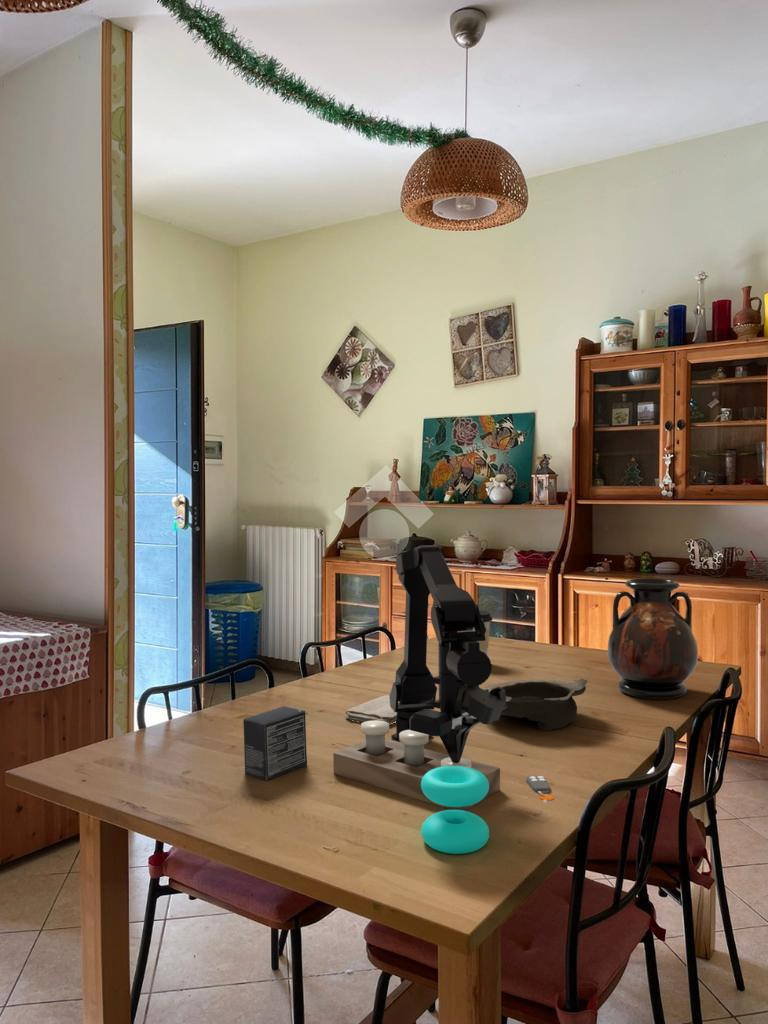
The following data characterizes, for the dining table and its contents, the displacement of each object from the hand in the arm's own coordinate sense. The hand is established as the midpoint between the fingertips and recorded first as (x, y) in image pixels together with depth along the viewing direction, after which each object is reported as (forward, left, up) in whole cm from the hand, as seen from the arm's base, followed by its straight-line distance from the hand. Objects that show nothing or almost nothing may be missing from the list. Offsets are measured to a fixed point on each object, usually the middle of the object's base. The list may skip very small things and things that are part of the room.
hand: (455, 762), depth 135 cm
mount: (0, -9, -5) cm, 10 cm away
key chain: (-9, +12, -6) cm, 16 cm away
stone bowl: (-46, -11, -6) cm, 48 cm away
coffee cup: (-84, -50, -6) cm, 98 cm away
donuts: (+15, +10, -6) cm, 19 cm away
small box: (+11, -33, -6) cm, 35 cm away
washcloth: (-29, -39, -6) cm, 49 cm away
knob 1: (0, -18, -2) cm, 18 cm away
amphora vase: (-84, +2, -6) cm, 84 cm away
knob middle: (0, -9, -2) cm, 9 cm away
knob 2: (0, 0, -5) cm, 5 cm away
